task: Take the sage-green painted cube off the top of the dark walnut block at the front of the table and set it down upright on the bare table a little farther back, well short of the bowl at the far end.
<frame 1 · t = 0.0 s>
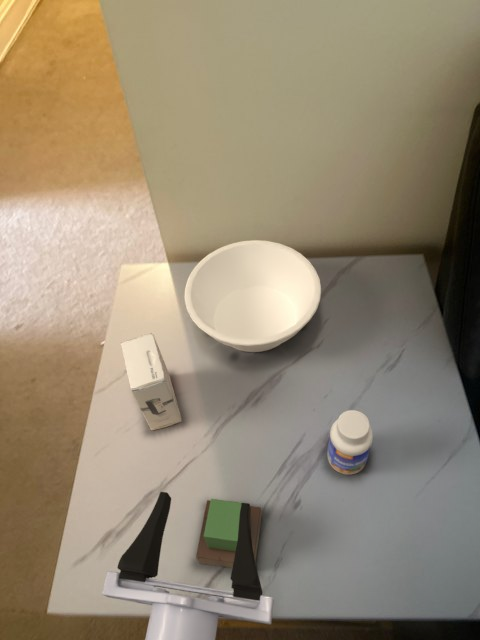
hand: (205, 500, 52), 22 cm above the table, tool horizontal, fingers open, 7 cm apart
bowl: (255, 321, 93), on the table
walnut block: (231, 538, 72), on the table, touching green cube
pill bottle: (346, 457, 78), on the table
ink box: (160, 403, 85), on the table
green cube: (229, 531, 69), point 3 cm above the table, touching walnut block
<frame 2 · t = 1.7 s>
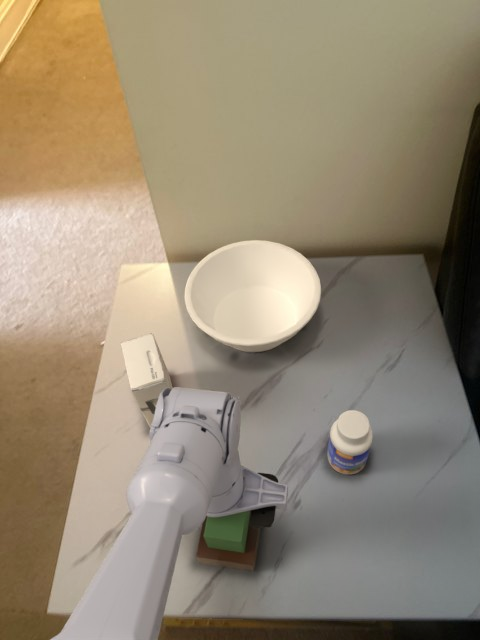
hand: (224, 514, 65), 9 cm above the table, tool pointing down, fingers open, 7 cm apart
nothing on the table moved.
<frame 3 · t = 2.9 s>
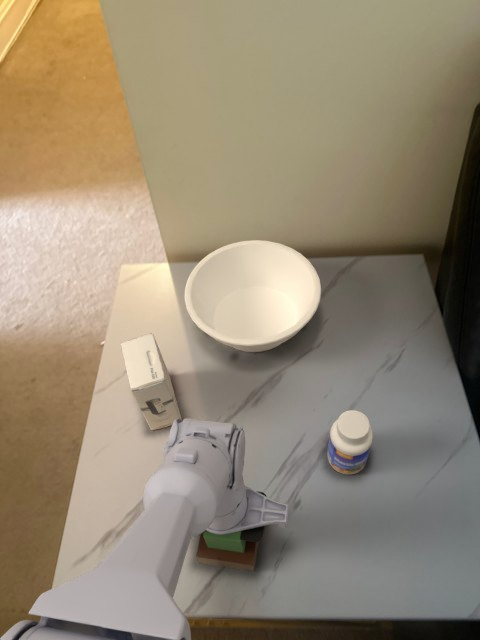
hand: (228, 530, 69), 4 cm above the table, tool pointing down, fingers closed on green cube, 4 cm apart
green cube: (228, 531, 69), point 3 cm above the table, touching gripper, walnut block
everything else where it was.
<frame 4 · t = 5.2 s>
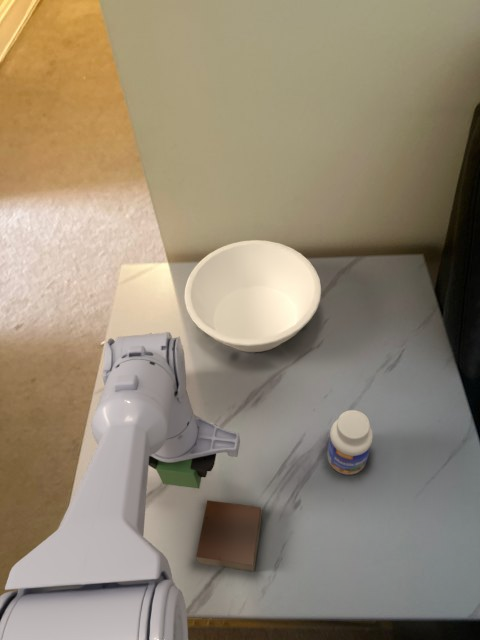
hand: (184, 466, 68), 9 cm above the table, tool pointing down, fingers closed on green cube, 4 cm apart
walnut block: (231, 538, 72), on the table
green cube: (185, 468, 69), point 9 cm above the table, touching gripper
everything else where it was.
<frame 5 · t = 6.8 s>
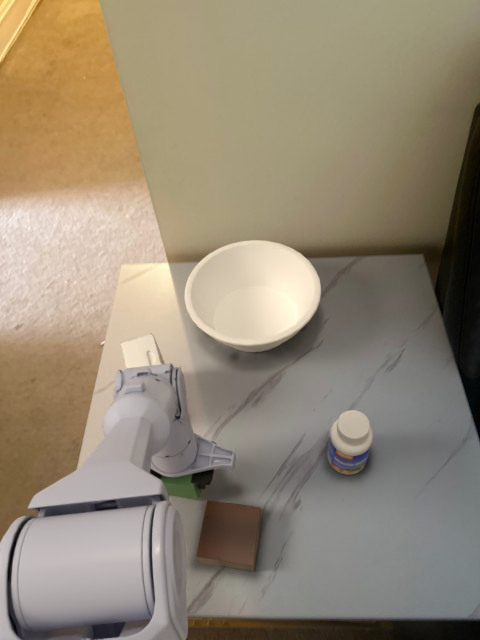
hand: (185, 479, 75), 2 cm above the table, tool pointing down, fingers closed on green cube, 4 cm apart
green cube: (185, 481, 75), point 2 cm above the table, touching gripper
everything else where it was.
when the fingers open (1 cm above the table, at t = 7.8 s): green cube stays where it is, on the table.
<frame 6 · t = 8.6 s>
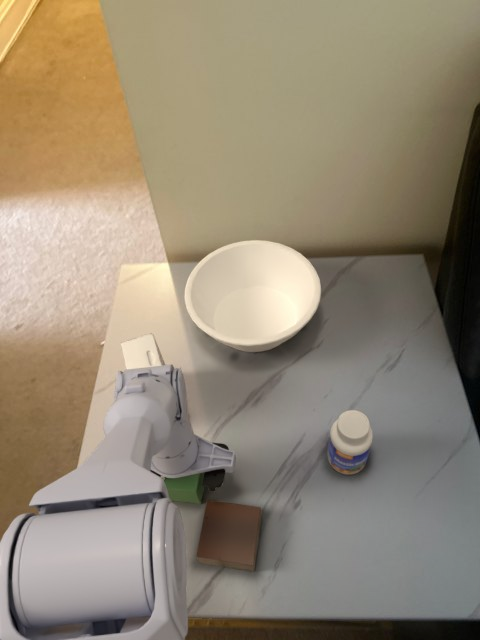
hand: (185, 480, 75), 2 cm above the table, tool pointing down, fingers open, 7 cm apart
green cube: (187, 485, 77), on the table
everything else where it was.
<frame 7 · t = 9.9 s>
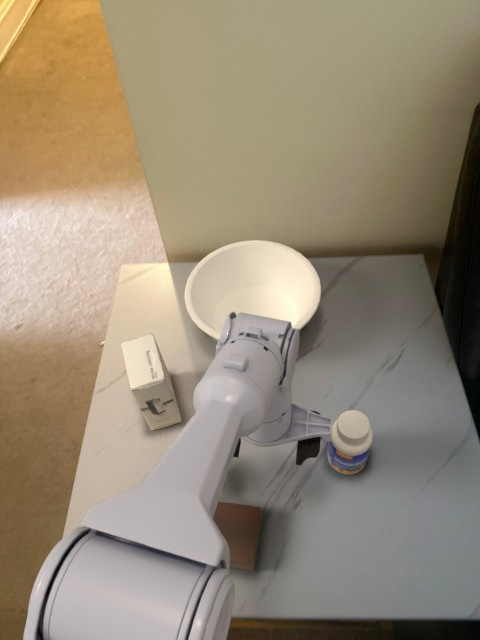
hand: (267, 453, 69), 9 cm above the table, tool pointing down, fingers open, 7 cm apart
nothing on the table moved.
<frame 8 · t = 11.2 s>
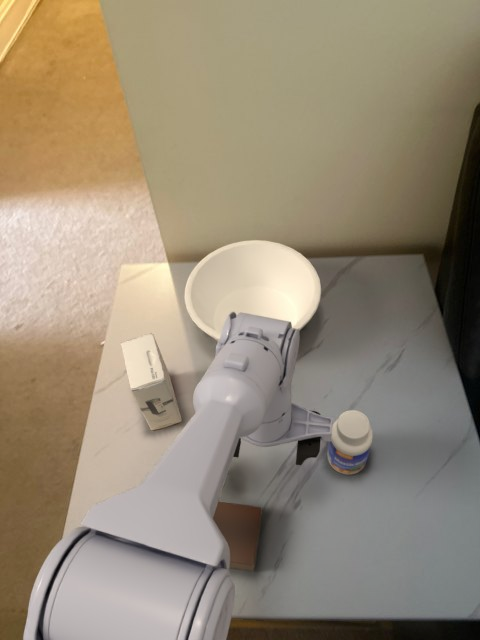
hand: (267, 453, 69), 9 cm above the table, tool pointing down, fingers open, 7 cm apart
nothing on the table moved.
at the end: green cube 0.1 cm from the target spot, on the table; green cube tilted 0°; green cube touching table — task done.
